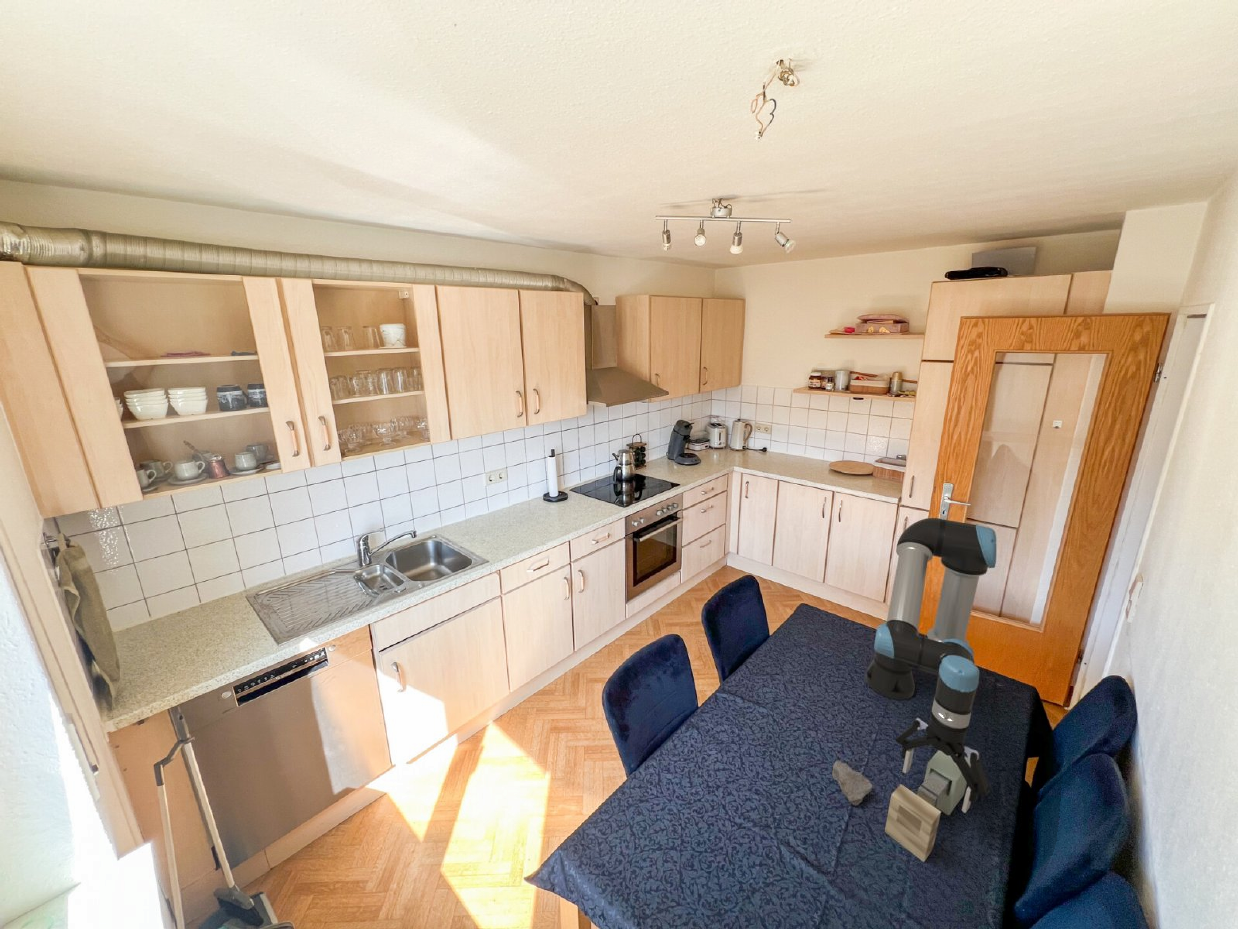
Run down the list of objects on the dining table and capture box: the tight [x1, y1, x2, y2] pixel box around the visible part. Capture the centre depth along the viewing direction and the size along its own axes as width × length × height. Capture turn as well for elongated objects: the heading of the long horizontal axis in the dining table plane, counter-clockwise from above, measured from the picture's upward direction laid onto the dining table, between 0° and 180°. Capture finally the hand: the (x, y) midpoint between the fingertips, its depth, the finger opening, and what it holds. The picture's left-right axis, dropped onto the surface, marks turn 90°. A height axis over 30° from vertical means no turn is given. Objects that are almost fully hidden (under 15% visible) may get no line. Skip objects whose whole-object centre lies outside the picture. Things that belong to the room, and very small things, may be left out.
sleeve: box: [923, 750, 972, 816], centre depth 129 cm, size 10×7×11 cm, turn 127°
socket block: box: [884, 783, 942, 863], centre depth 117 cm, size 5×9×12 cm, turn 37°
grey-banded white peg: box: [916, 770, 952, 809], centre depth 125 cm, size 18×4×4 cm, turn 127°
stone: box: [831, 760, 873, 806], centre depth 131 cm, size 8×10×6 cm
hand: (934, 788), depth 123 cm, fingers open, 13 cm apart
